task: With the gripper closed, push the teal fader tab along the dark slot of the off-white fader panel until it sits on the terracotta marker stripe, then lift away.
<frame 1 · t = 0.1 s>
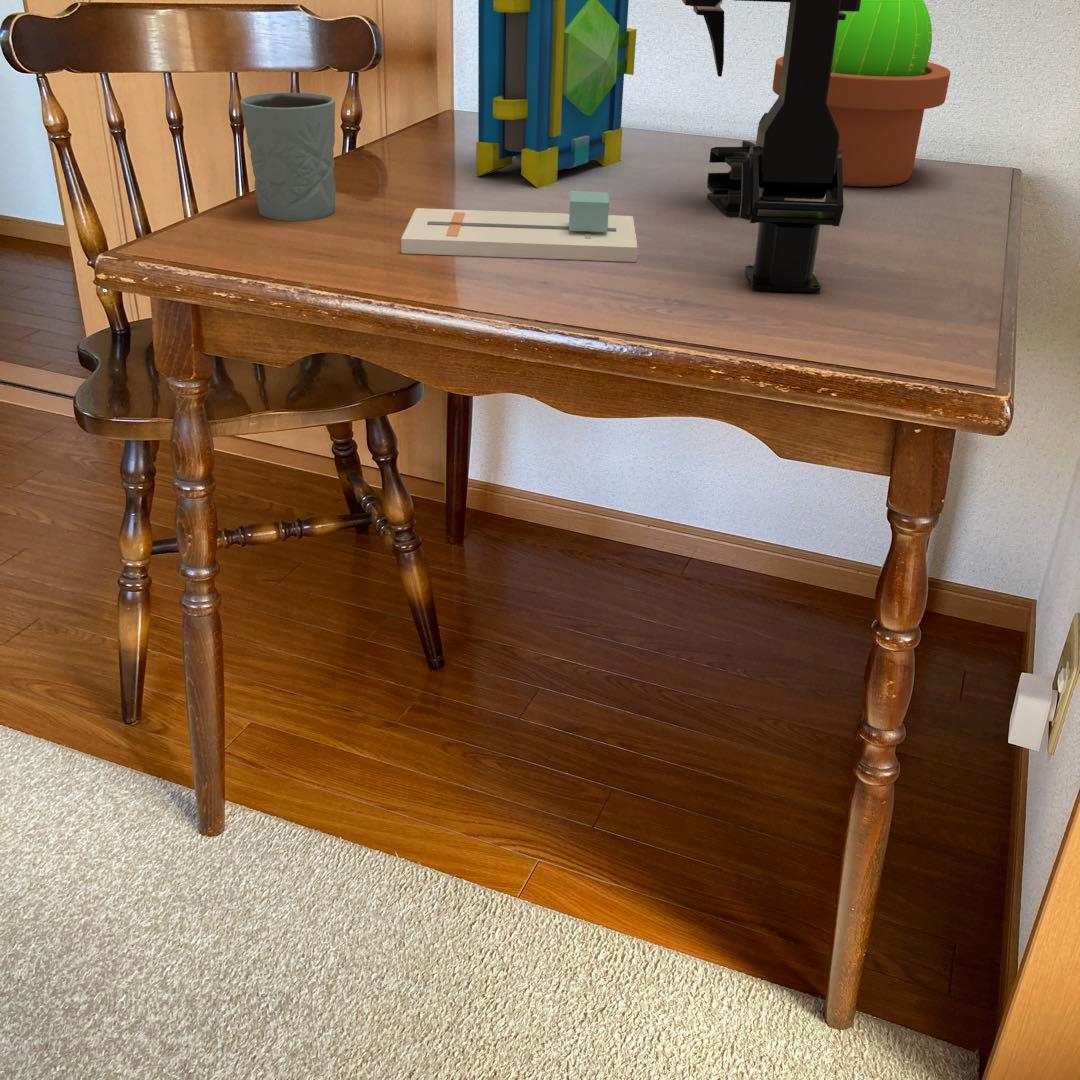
hand: (760, 77, 127), 15 cm above the table, tool pointing down, fingers open, 9 cm apart
end cap: (744, 209, 136), on the table
fader panel: (521, 241, 120), on the table
potted cactus: (844, 174, 153), on the table
decorative book: (548, 170, 150), on the table
fader tab: (588, 211, 119), point 3 cm above the table, slide at -7.0 cm
grey-green plant pot: (297, 212, 129), on the table
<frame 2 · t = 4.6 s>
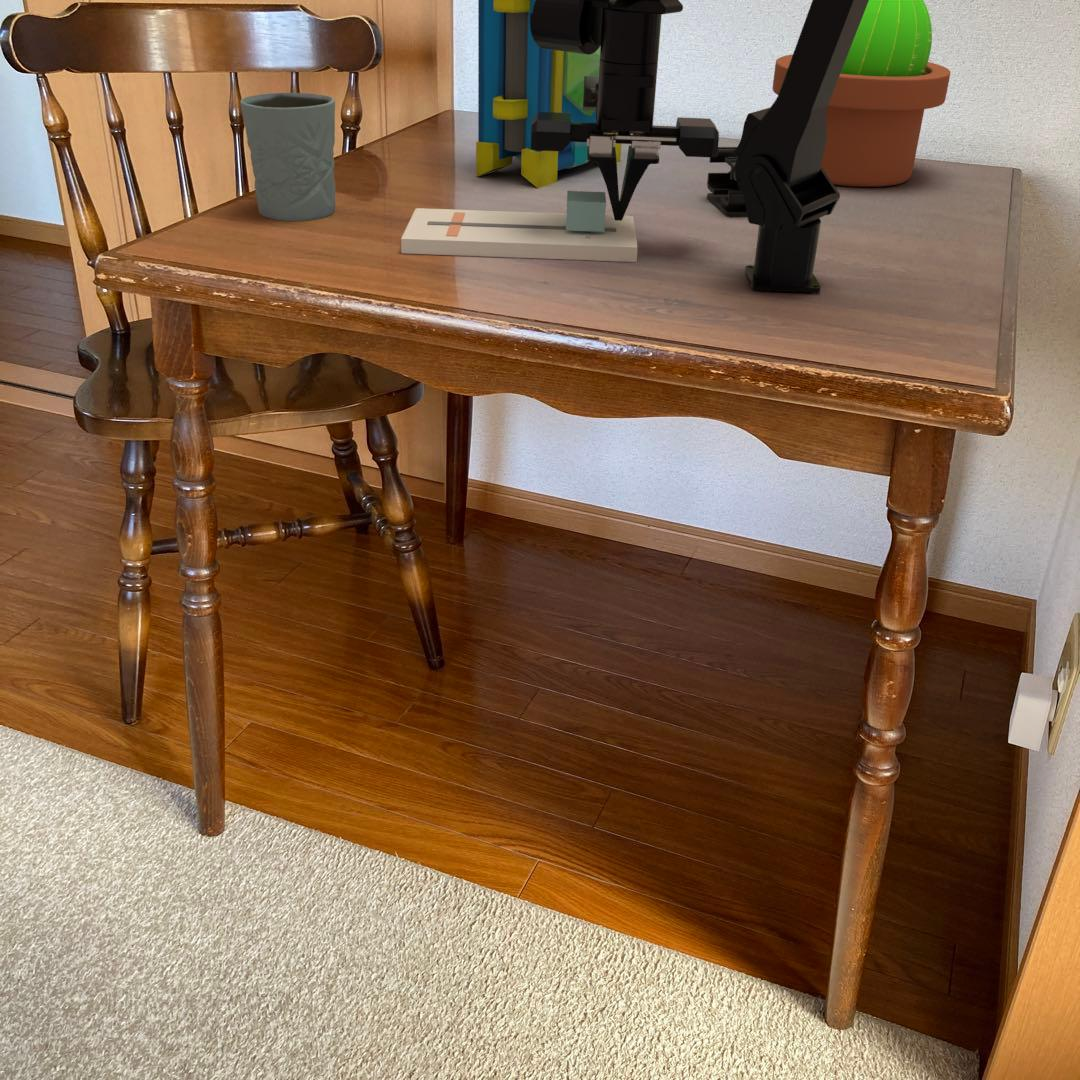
hand: (618, 219, 119), 3 cm above the table, tool pointing down, fingers closed
fader tab: (585, 211, 119), point 3 cm above the table, slide at -6.7 cm, touching gripper
everything else where it was.
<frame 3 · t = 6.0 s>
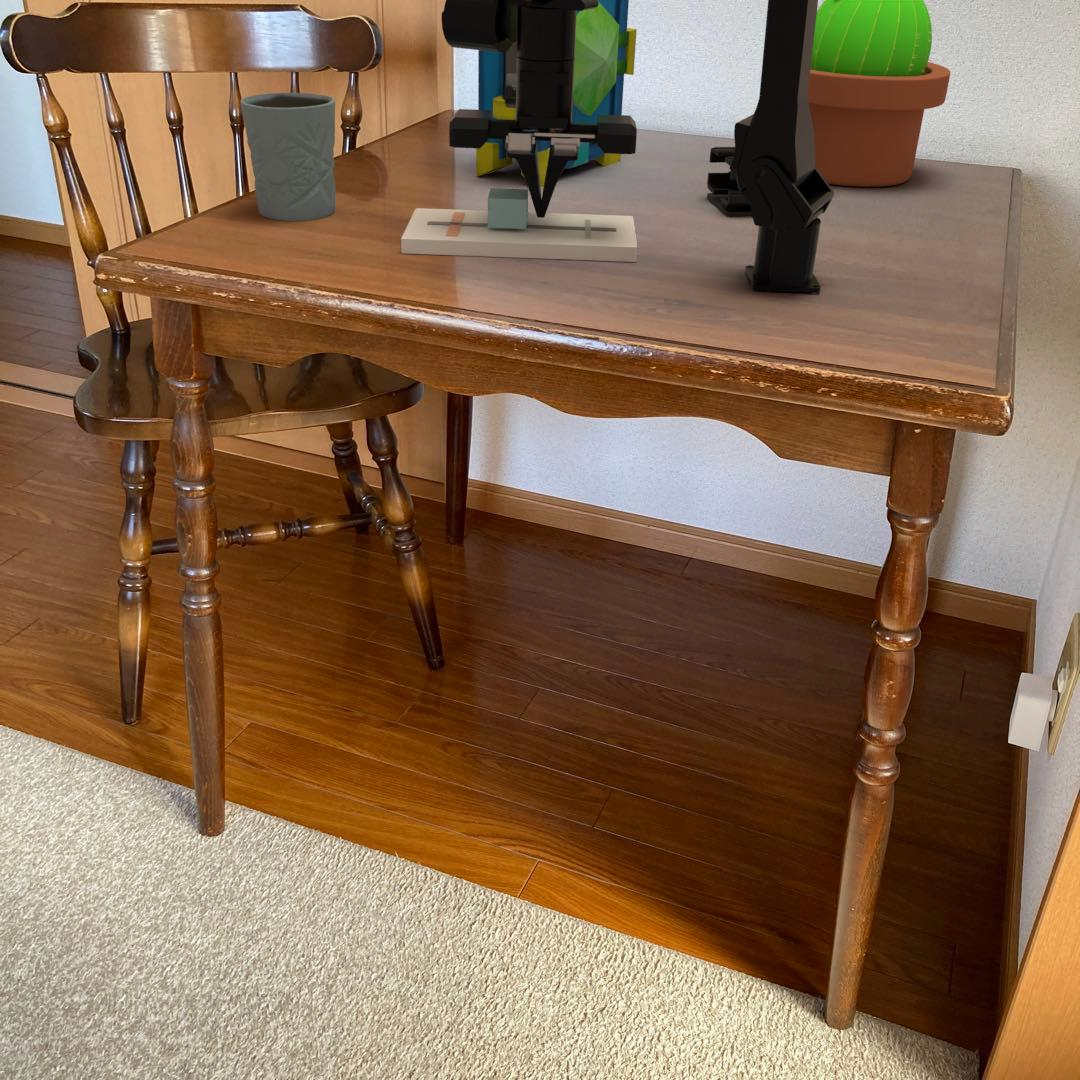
hand: (540, 216, 119), 3 cm above the table, tool pointing down, fingers closed
fader tab: (508, 208, 119), point 3 cm above the table, slide at 1.5 cm, touching gripper
everything else where it was.
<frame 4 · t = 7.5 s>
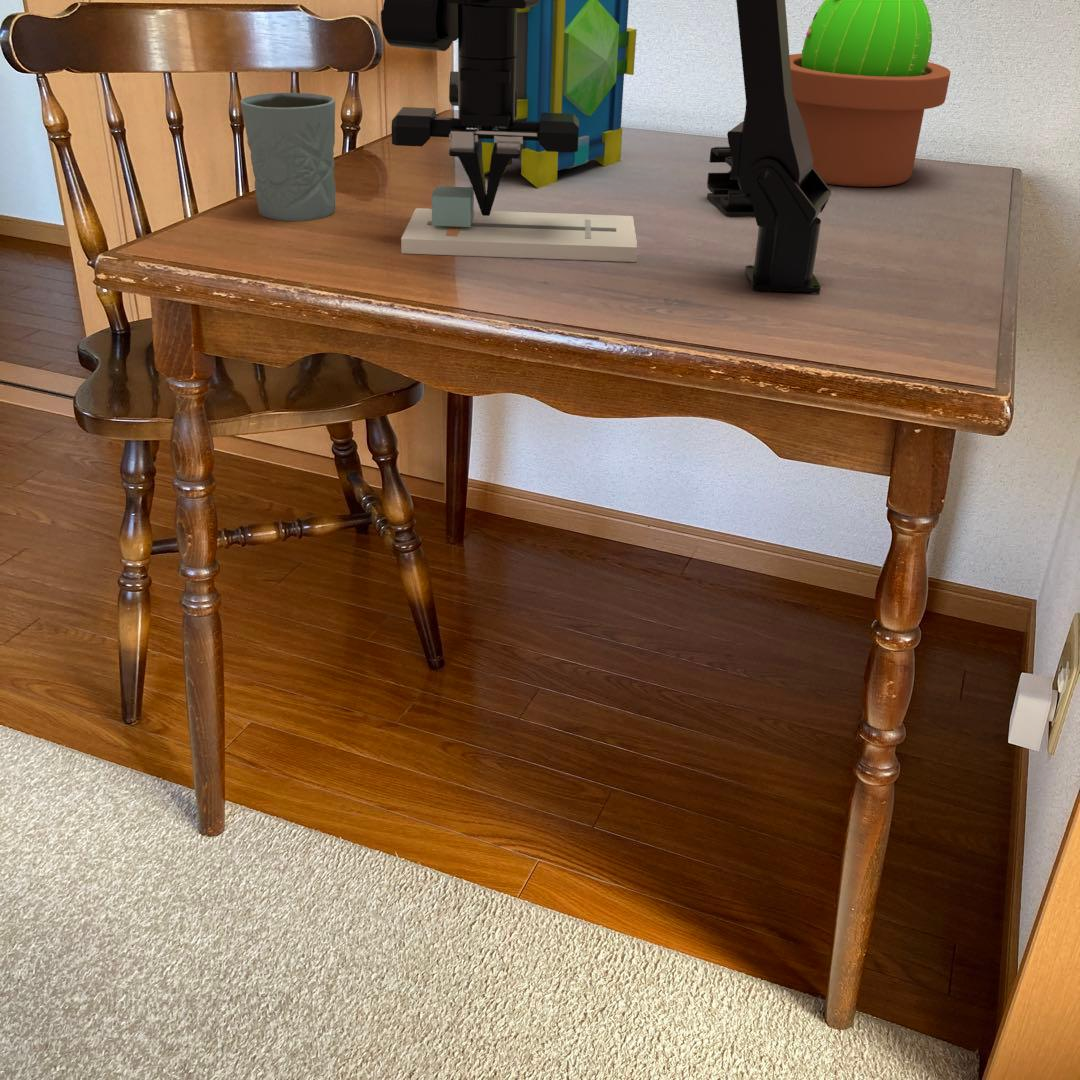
hand: (486, 214, 119), 3 cm above the table, tool pointing down, fingers closed
fader tab: (453, 206, 119), point 3 cm above the table, slide at 7.3 cm, touching gripper
everything else where it was.
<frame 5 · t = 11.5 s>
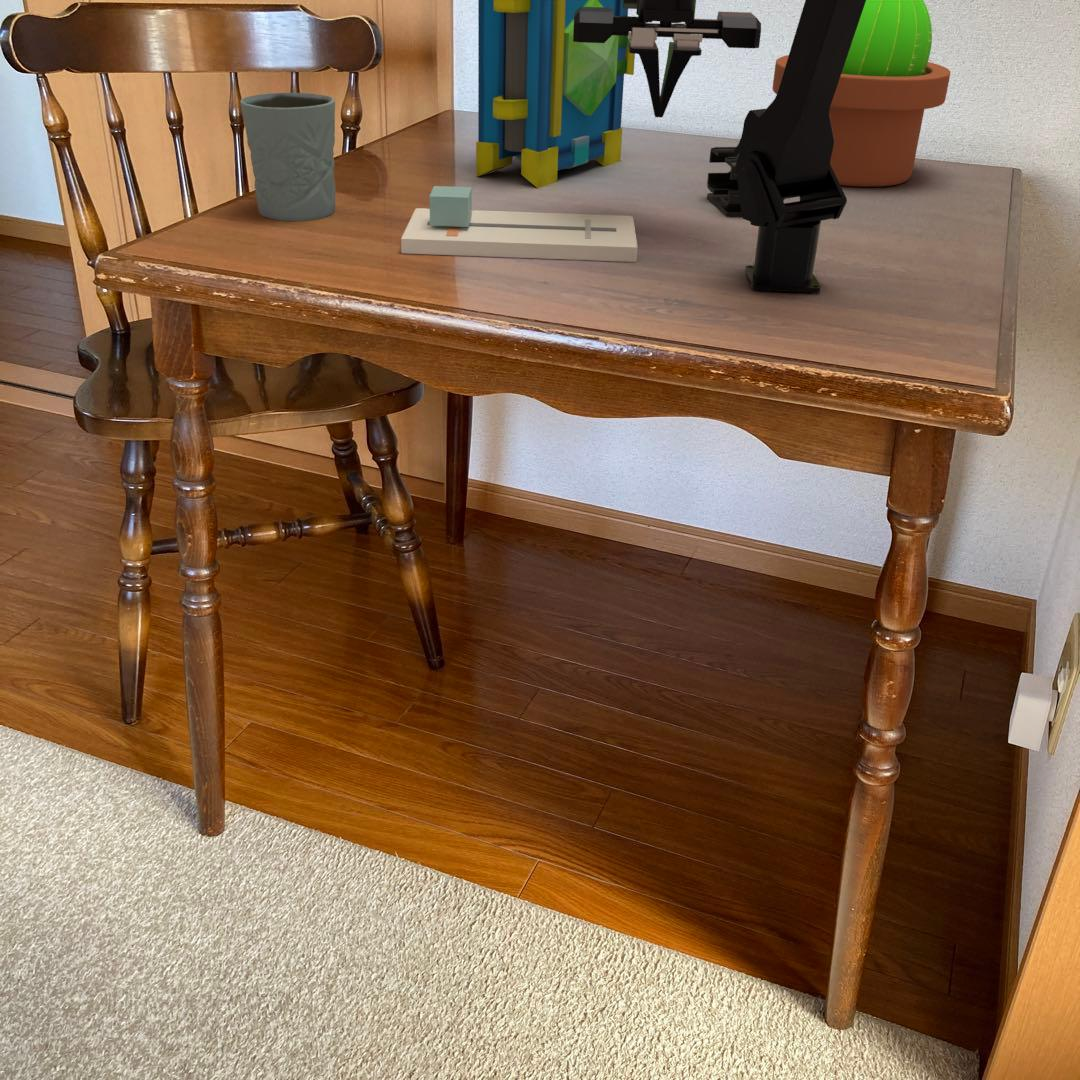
hand: (658, 116, 119), 12 cm above the table, tool pointing down, fingers closed
fader tab: (451, 206, 119), point 3 cm above the table, slide at 7.5 cm
everything else where it was.
at the end: fader tab slide at 7.5 cm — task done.
